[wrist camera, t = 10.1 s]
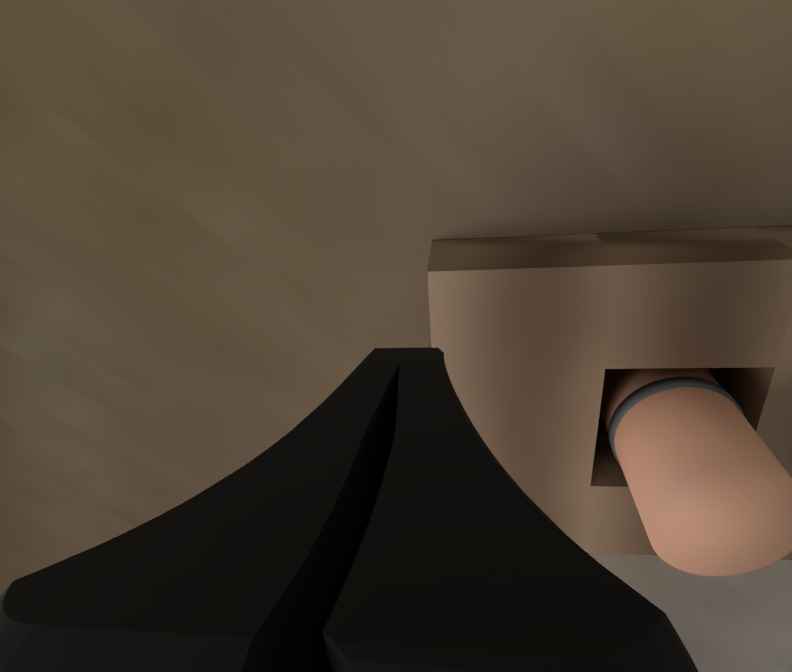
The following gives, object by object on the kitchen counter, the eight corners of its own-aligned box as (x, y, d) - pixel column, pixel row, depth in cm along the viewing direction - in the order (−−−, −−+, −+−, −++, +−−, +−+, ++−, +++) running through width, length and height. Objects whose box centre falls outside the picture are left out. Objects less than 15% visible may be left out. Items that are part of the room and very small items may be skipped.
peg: (585, 425, 22) (634, 574, 16) (597, 336, 20) (659, 465, 14) (693, 427, 21) (788, 581, 15) (716, 335, 19) (837, 470, 13)
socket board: (443, 493, 24) (441, 547, 22) (431, 240, 19) (427, 271, 16) (828, 501, 22) (877, 562, 19) (946, 219, 16) (1037, 251, 14)
